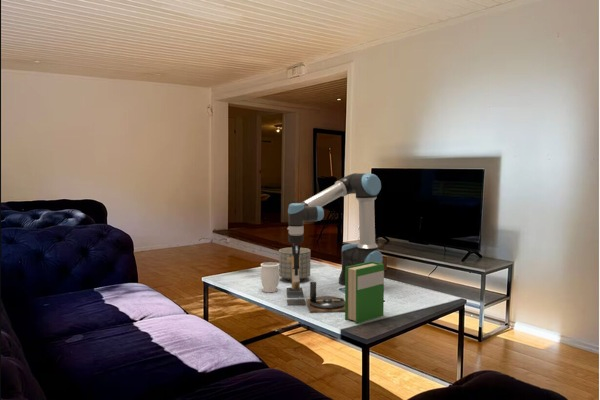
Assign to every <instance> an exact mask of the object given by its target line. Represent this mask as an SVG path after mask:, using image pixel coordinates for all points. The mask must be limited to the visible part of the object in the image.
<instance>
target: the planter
mask: <svg viewBox="0 0 600 400" xmlns="http://www.w3.org/2000/svg"><path fill="white" fill-rule="evenodd" d="M292 257H293V254H292V247H284V248H280V249H278V263H279V267H278V268H279V278H280V277H281V278H283V279H285V280H286V281H289V282H292V261H287V258H292ZM299 257H300V282H301V281H302V280H304V279H306V278H309V277H311V249H309V248H308V247H307V248H305V247H300V255H299Z"/></svg>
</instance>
